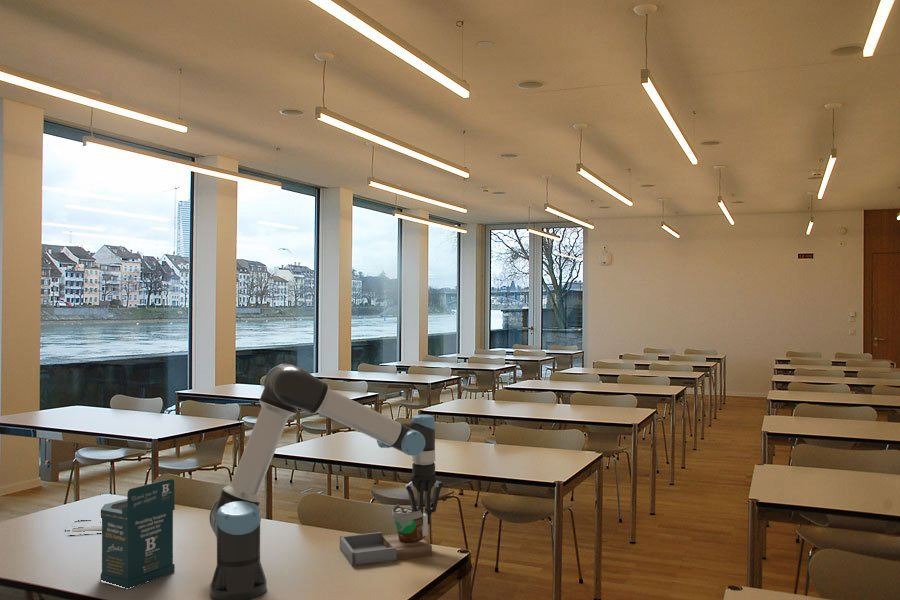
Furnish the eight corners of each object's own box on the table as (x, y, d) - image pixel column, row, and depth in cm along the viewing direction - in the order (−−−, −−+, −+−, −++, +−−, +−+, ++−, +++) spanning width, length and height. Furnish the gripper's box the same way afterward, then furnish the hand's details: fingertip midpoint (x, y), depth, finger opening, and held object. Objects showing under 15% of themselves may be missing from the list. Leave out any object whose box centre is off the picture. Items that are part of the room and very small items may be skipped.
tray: (396, 560, 227) (396, 547, 227) (352, 566, 222) (352, 553, 222) (381, 543, 244) (381, 531, 244) (339, 548, 239) (339, 536, 239)
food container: (387, 539, 240) (383, 509, 239) (401, 532, 244) (397, 503, 244) (411, 547, 231) (407, 516, 230) (425, 540, 235) (421, 510, 235)
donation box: (127, 590, 204) (127, 489, 205) (91, 580, 212) (91, 483, 213) (174, 572, 219) (174, 478, 219) (138, 563, 226) (139, 472, 227)
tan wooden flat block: (431, 555, 233) (431, 545, 233) (395, 559, 228) (395, 550, 228) (416, 540, 247) (416, 531, 248) (381, 544, 243) (381, 535, 243)
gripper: (438, 458, 246) (438, 529, 246) (401, 461, 242) (401, 533, 241) (446, 462, 239) (446, 535, 239) (408, 466, 235) (408, 540, 234)
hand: (424, 534), depth 240 cm, fingers closed
